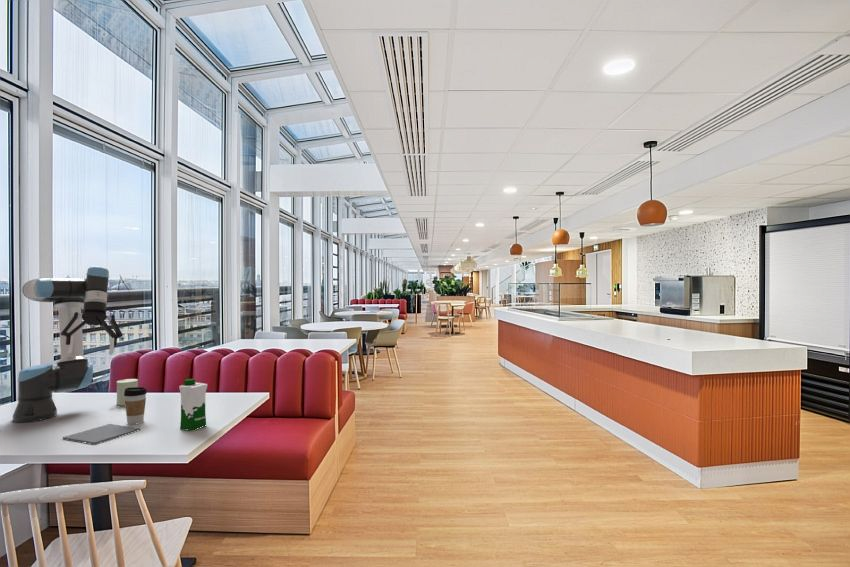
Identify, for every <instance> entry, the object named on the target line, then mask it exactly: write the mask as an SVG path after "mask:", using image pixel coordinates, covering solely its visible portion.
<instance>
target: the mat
mask: <svg viewBox="0 0 850 567" xmlns="http://www.w3.org/2000/svg"><path fill="white" fill-rule="evenodd" d="M137 430H139V431H141V428H140V427H135V426H134V427H133V426H126V425H119V424H115V423H114V424H112V423H108V424H105V425H101V426H97V427H93V428H90V429H86V430H84V431H80V432H75V433H73V434H69V435H66V436H63V437H62V440H65V439H68V440H67V441H70V440H74V441H73V442H76V441H80V442H79V443H82V442H86V443H85V444H88V443H91V444H90V445H94V444H95V445H98V444H97V443H99V444H101V443H100V442H102V443H104V441H105V442H108V441H111V440H114V439H117V438H120V437H119V436H121V437H123V436H122V435H124V436H126V435H125V434H127V435H129V434H128V433H130V434H132V433H131V432H133V433H135V432H134V431H136V432H138V431H137ZM116 437H117V438H116ZM113 438H114V439H113ZM110 439H111V440H110ZM107 440H108V441H107Z"/></svg>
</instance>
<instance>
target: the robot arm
mask: <svg viewBox="0 0 850 567" xmlns="http://www.w3.org/2000/svg"><path fill="white" fill-rule="evenodd" d="M109 273H110V271H109V269H108V268H106V267H104V266H91V267H88V269H87V271H86V278H85V279H82V278H75V277H74V278H73V277H40V278H35V279H31V280H28V281H26V282H25V283H24V284H23V285H22V291H21V292H22V294H23V296H25V298H27V299H28V300H31V301H34V302H39V303H53V307H55V308H56V309H57V311H58V325H59V326H58V327H59V330H58V331H59V345H60V346H59V347H60V348H59V349H60V359H59V360H58V361H57V362H56V366H53V364H52V363H43V364H42V363H41V364H36V365H32V366H28V367H25V368H22V369H21V370H20V371H19V372H18V377H17V378H18V379H17V383H18V385H17V386H18V392H17V395H18V396H17V399H18V401H17V405H16V407H15V409H14V411H13V412H14V413H13V414H12V422H14V421H15V423H27V421H30V422H35V421H34V420H37V421H41V420H40V419H43V420H46V419H45V418H47V419H50V418H49V417H51V418H53V417H52V416H54V417H56V416H57V415H58V409H57V407H56V404H55V402H54V399H53V392H61V391H67V390H69V391H70V390H78V389H81V388H86V387H88V386H89V385H90V384H91V382H92V379H93V375H94V374H93V373H94V365H93V363H92V362H89V361H88V360H89V359H88V358H87V357H86V356H85V355H84V341H83V340H84V339H83V326H85V325H88V326H96V327H97V326H100V327H101V328H102V329H103V330H104V331H105V332H106V333H107V334H108V335H109V336H110V337H111V338H110V339H109V350H108V355H109V356H110V355H113V354H114V349H115V347H116V346H117V345H118V343H117V342H118V339H119V338H122V337H123V335H124V334H123V332H122V330H121V329H120V327H119V325H118V323H117V321H116V317H115V314H111V315H107V313H106V312H107V300H108V288H109V278H110V274H109ZM82 307H83V311H82ZM106 319H107V320H108V322H109V323H110V325H111V327H112V328H111V327H110V326H109V325H108V324H107V322H106ZM82 320H83V321H82ZM55 415H56V416H55Z"/></svg>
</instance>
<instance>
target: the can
mask: <svg viewBox="0 0 850 567" xmlns="http://www.w3.org/2000/svg"><path fill="white" fill-rule="evenodd" d="M130 387H139V379H137V378H126V379H120V380H117V381H116V404H118V405H117V406H119V405H124V406H125V396H124V392H125V389H126V388H130Z"/></svg>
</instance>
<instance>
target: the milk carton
mask: <svg viewBox="0 0 850 567" xmlns="http://www.w3.org/2000/svg"><path fill="white" fill-rule="evenodd" d="M178 387H179V388H178V389H179V394H180V425H179V429H180V430H183V429H188V430H187V431H190V430H194V431H196V430H195V429H197V428H200V427H202V426H205V425H206V426H207V416H206V393H207V389H208V383H203V382H196V378H185V379H184V384H181V385H179V386H178ZM206 426H205V427H206ZM202 428H203V427H202ZM200 429H201V428H200ZM197 430H198V429H197Z"/></svg>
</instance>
